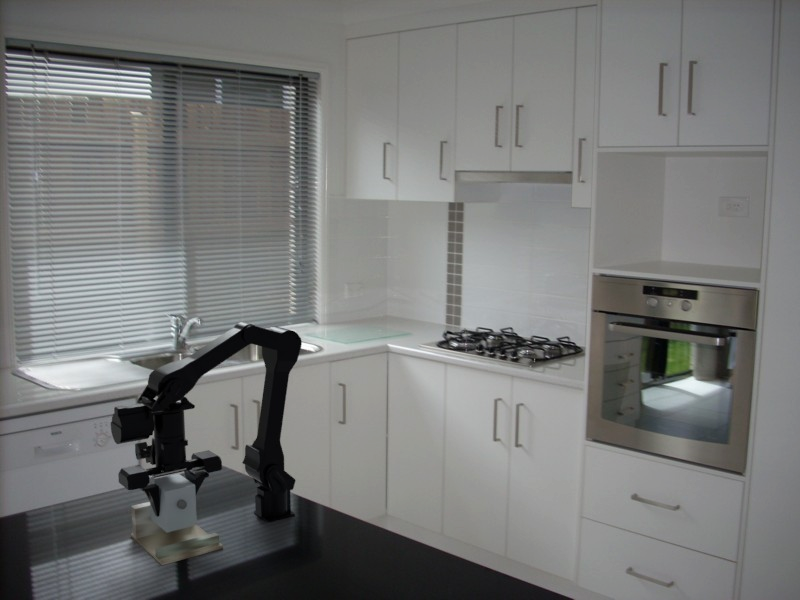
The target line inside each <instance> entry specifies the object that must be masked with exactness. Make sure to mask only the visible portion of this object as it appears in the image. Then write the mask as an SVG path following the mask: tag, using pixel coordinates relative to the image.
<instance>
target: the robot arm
mask: <svg viewBox="0 0 800 600" xmlns="http://www.w3.org/2000/svg"><path fill="white" fill-rule="evenodd" d="M302 342H303V341H302V338H301V337H300V335H299V334H298V333H297V332H296V331H294V330H291V329H287V328H284V327H279V326H271V327H269V328H264V327H260V326H256V325H255V324H252V323H249V322H246V321H241V322H238V323H236V324H235V325H234V326H233V327H232V328H231V329H229V330H227V331H225V333H223V334H221V335H219V336H218V337H216V338H215V339H214V340H212V341H211V342H209V343H207V344H205V345H204V346H203V347H201V348H199V349H198V350H197V351H195V352H193V353H192V354H190V355H189V356H188V357H185V358H183V359H179V360H174V361H172V362H171V361H170V362H169V363H166V364H164V365H162V366H159V367H157V368H155V369H153V371H151V372H150V374H149V376H148V380H147V384H146V387H145V388H144V389H143V391H142V393H141V394H140V395H139V397H138V399H137V401H136V403H137V404H136V403H135V404H131V405H118V406H114V407H113V409H114V411H113V412H114V413H112V416H111V421H110V431H111V435H112V439H113V441H114V443H115V444H116V445H122V444H127V443H133V442H136V443H134V453H135V459H136V460H137V461H138V460H143V459H145V463H146V464H149V463H150V464H151V465H152V466H154V467H150V468H144V467H143V466H141V465H140V464H136V465H132V466H126V467H122V468H120V470H119V472H118V474H117V475H118V476H117V477H118V483H119V484H120V485H121V486H123V487H124V488H125V489H126V490H128V491H136V490H139V489H140V491H142V492H144V494H145V495H146V497H147V499H148V502H150V504H151V506H152V509H153V511H154V513H155V515H156V516H157V517H158V516H159V513H160V502H159V486H158V485H157V484H155V479H156V478H161V477H165V476H170V475H174V474H180V473H184V478H186V479H187V480H189V481H190V482H192V483H193V484H195V492H196V495H197V494H198V493H199V491H200V488H201V486H202V484H203V483H204V481H205V479H206V478H209V477H210V474H211V473H215V472H219V471H222V470H223V462H222V458H221V457H220V456H219V455H218V454H216V453H214V452H213V451H211V450H210V449H209V450H208V449H207V450H204V451H203V450H202V451H198V452H194V453H192V455H191V457H190V458H191V459H188V460H187V451H186V450H187V449H186V448H187V446H189V440H188V439H186V425H185V411H187V410H193V409H195V408H196V405H195V404H194V403H192V402H191V401H189V399H188V398H187V397H186V395H188V393H190V392H191V391H192V389H194V388H195V386H196V385H197V383H198V381H199V380H200V379H201V378H202V377H203V376H204V375H205V374H206V375H207V373H208V372H210V371H212V370H214V369H215V368H216V367H217V366H219V365H221V364H222V363H224V362H225V361H227V360H228V359H230V358H231V357H233V356H234V355H236V354H237V353H239V352H240V351H242V350H244V349H245V348H246V347H248V346H250V345H253V346H259V347H261V355H262V359H263V363H264V368H265V376H264V382H263V384H264V385H263V391H262V397H261V405H260V414H259V420H258V428H257V435H256V438H255V440H254V441H253V442H252V444H246V445H245V448H244V457H243V461H242V464H243V465H244V470H245V472H246V474H247V475H248V476H249V477H251V478H252V481H253V482H254V484H257V485H259V486H257V487H256V494H255V496H254V497H255V498H254V500H255V502H254V503H255V505H254V506H255V509H254V510H253V513H254V514H255V515H256V516H257V517H259V518H260V519H262V520H264V521H265V522H266V523H271V522H274V521H279V520H282V519H285V518H286V519H287V518H289V517H293V516H296V513H295V511H293V510H292V505H291V502H292V501H291V499H292V498H291V496H292V495H291V491H292V490H294V488H295V483H296V478H294V477H293V476H292V475H291V474H289V473H288V472H287V471H286V470H285V455H284V451H283V447H282V444H281V443H282V442H281V436H282V429H283V421H284V415H285V406H286V400H287V392H288V391H287V390H288V385H289V377H290V374H291V371H292V370H293V368H294V366H295V365H296V363H297V361H298V359H299V355H300V353H301V349H302ZM156 397H157V398H156ZM155 398H156V399H155ZM151 436H153V437H151ZM150 437H151V445H148V443H147V441H144V440H146V439H147V440H148V439H149V438H150ZM138 441H143V442H138Z"/></svg>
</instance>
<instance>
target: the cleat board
mask: <svg viewBox="0 0 800 600" xmlns="http://www.w3.org/2000/svg"><path fill="white" fill-rule="evenodd" d="M130 508H131V509H130V510H131V511H130V513H131V528H132V531H131V532H132V533H130V537H131V539H133V540H134V541H135V542H136V543H137V544H138V545H140V546H141V548H142V549H144V550H145V551H146V552H147V553H148V554H150V556H152V557H153V558H154V559H155V560H156V561H157V562H158V563H159V564H160V565H161V566H164V565H169V564H171V563H175V562H178V561H182V560H186V559H190V558H193V557H196V556H200V555H203V554H207V553H211V552H214V551H218V550H221V549H223V548H224V547H223V546H224V545H223V544H222V543H221V542H220V534H218V532H213V533H208V532H206V530H204V529H202V528H201V527H200V526H199V525H198V524H197V525H194V526H190V527H187V528H183V529H179V530H175V531H171V532H168V533H167V532H165V531H164V530H163V529H162V528H161V527H160V526H158V525H157V524H156V523H155V522H154V521H152V520H151V508H150V502H149V501H146V502H142V503H138V504H134V505H131V506H130Z"/></svg>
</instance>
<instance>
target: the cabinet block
mask: <svg viewBox="0 0 800 600" xmlns="http://www.w3.org/2000/svg"><path fill="white" fill-rule="evenodd" d="M154 479H155V484H157V485H158V486H159V502H160V513H159V516H158V517H157V516H156V515H155V513H154V511H153V509H152V506H151V504H150V508H151V520H152V521H154V522H155V523H156V524H157V525H158V526H160V527H161V528H162V529H163V530H164V531H165V532H167V533H168V532H171V531H175V530H179V529H183V528H187V527H190V526H194V525H197V526H198V524H197V522H198V520H197V516H198V515H197V498H196V497H197V494H196V492H195V484H193V483H192V482H190V481H189V480H187V479H186V477H185V476H184V475H181V474H180V473H174V474H170V475H165V476H160V477H156V478H154Z"/></svg>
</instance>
